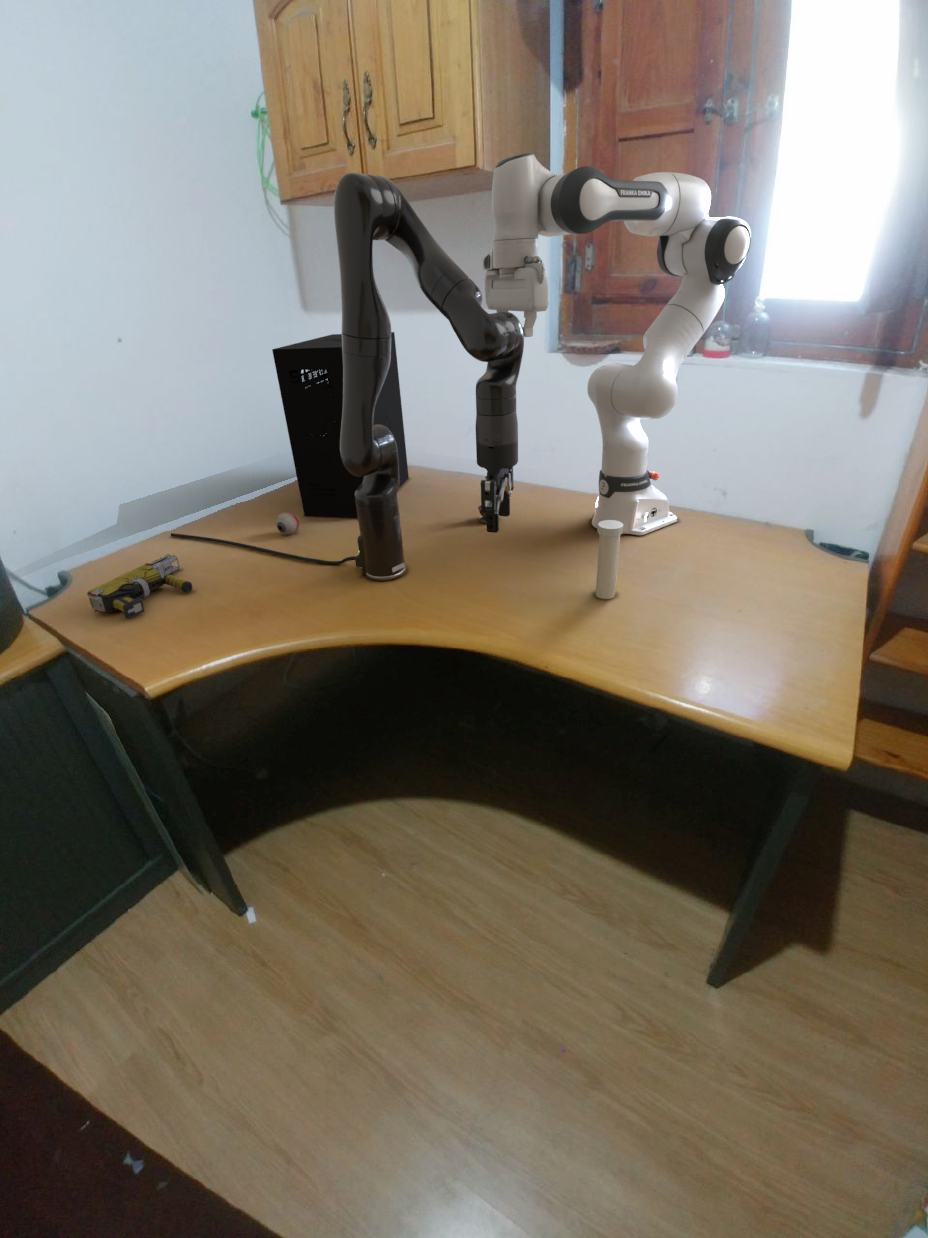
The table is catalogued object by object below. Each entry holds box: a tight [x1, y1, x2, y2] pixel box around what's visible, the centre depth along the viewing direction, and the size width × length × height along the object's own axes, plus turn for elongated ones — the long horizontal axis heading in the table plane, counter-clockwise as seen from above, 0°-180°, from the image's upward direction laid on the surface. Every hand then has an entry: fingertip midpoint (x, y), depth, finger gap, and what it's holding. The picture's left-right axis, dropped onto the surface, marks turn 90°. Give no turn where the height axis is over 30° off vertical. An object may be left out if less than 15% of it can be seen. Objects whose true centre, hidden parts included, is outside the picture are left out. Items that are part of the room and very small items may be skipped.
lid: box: [596, 520, 623, 537], centre depth 119 cm, size 5×5×2 cm
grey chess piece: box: [477, 502, 492, 524], centre depth 164 cm, size 6×6×12 cm
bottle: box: [595, 534, 621, 600], centre depth 122 cm, size 4×4×15 cm
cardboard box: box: [271, 331, 410, 519], centre depth 180 cm, size 38×20×45 cm, turn 167°
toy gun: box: [86, 553, 193, 620], centre depth 136 cm, size 5×24×15 cm
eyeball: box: [275, 511, 300, 536], centre depth 163 cm, size 6×6×6 cm
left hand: (498, 523), depth 116 cm, fingers open, 8 cm apart
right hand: (516, 335), depth 125 cm, fingers open, 8 cm apart
